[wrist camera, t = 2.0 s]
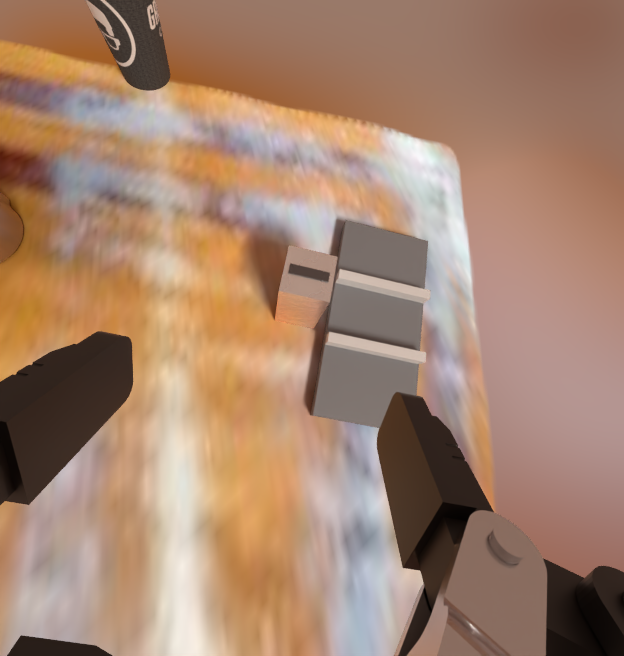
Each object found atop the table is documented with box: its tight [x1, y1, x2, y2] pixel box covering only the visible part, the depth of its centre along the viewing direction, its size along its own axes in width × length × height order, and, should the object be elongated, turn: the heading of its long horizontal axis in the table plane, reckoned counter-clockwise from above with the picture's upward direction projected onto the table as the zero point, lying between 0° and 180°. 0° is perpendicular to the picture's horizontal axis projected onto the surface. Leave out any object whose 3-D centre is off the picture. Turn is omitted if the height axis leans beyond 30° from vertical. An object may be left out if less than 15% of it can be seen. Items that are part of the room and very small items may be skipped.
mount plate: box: [310, 220, 430, 428], centre depth 38 cm, size 12×26×4 cm, turn 170°
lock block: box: [275, 245, 338, 329], centre depth 34 cm, size 5×5×10 cm
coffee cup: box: [85, 0, 170, 90], centre depth 37 cm, size 10×10×15 cm
